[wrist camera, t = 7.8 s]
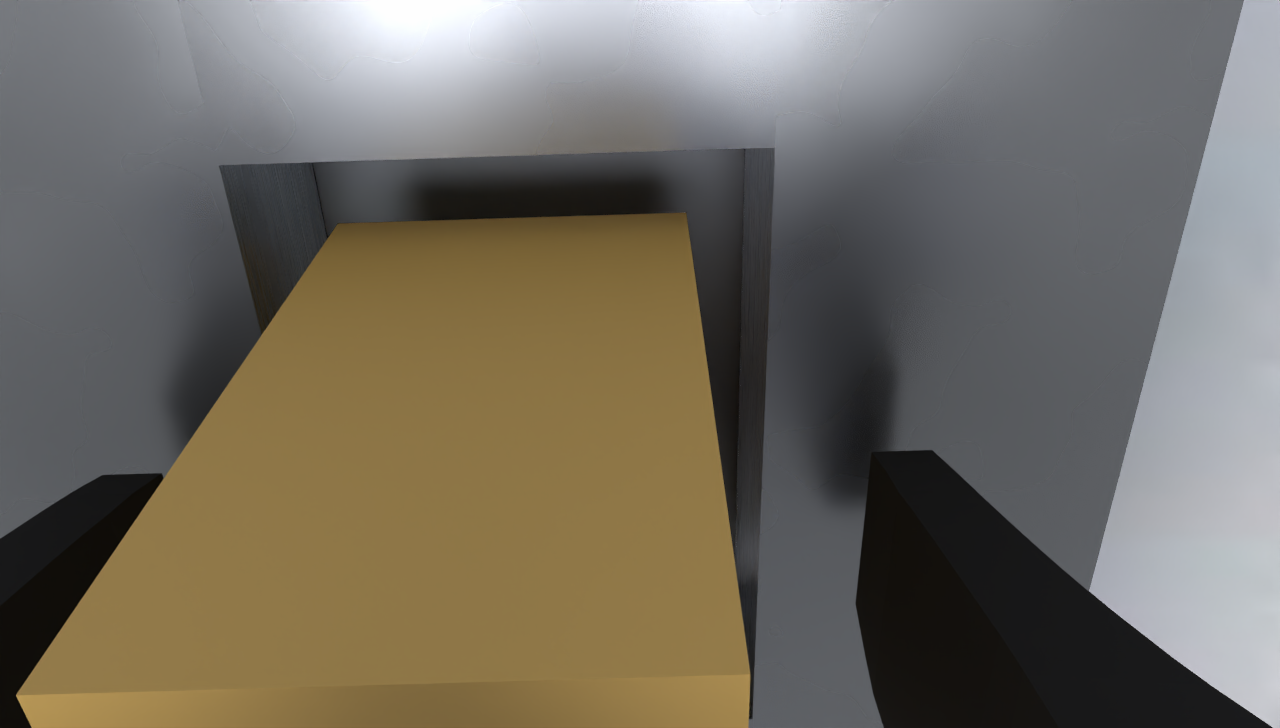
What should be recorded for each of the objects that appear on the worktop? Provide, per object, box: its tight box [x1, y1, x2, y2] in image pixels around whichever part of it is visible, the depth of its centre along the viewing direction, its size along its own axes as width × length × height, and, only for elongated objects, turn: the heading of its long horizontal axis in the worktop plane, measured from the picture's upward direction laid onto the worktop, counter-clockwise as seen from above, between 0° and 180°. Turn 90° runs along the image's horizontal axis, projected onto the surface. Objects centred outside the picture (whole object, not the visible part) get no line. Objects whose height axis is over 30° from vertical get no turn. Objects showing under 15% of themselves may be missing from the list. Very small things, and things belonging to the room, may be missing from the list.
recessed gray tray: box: [0, 0, 1244, 728], centre depth 11 cm, size 13×13×2 cm
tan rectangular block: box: [16, 213, 750, 728], centre depth 10 cm, size 6×4×8 cm, turn 2°
